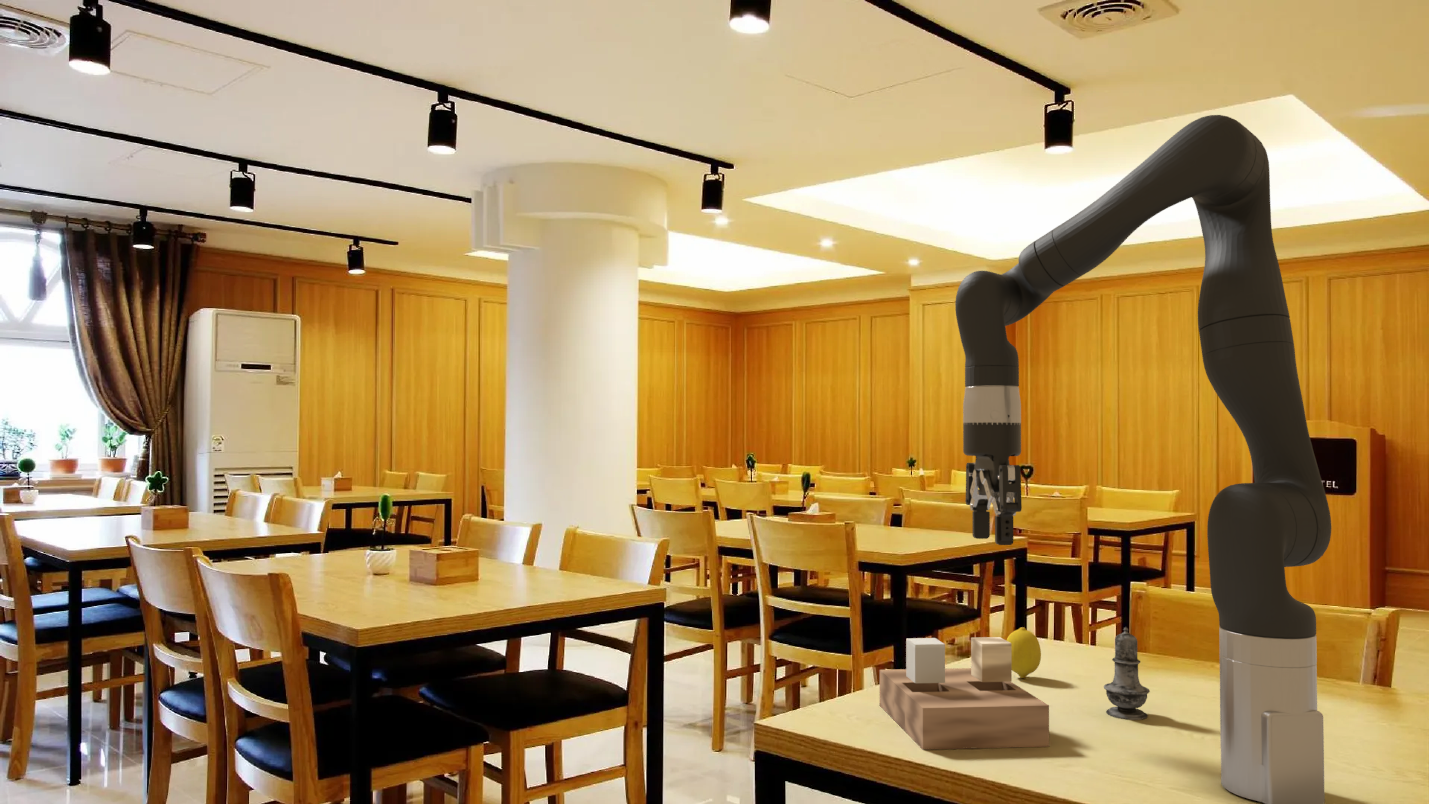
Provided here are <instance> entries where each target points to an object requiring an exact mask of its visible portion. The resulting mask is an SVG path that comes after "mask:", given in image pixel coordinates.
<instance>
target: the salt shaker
mask: <svg viewBox="0 0 1429 804" xmlns="http://www.w3.org/2000/svg"><path fill="white" fill-rule="evenodd" d="M1122 630H1123V632H1122V633H1119V634H1117V635H1116V636H1115V638H1114V651H1115V652H1114V657H1113V658H1112V659H1111V661H1113V662H1114V674H1113V675H1114V676H1113V679H1112V681H1111V682H1110V683H1109V682H1108V683H1106V684H1104V685H1103V689H1104V690H1105V691H1106V693H1105V694H1106V697H1107V699H1108V701H1109V702H1110V703H1111V704H1112V705H1114V706H1112V707H1110V708H1108V709H1106V711H1105V713H1106V714H1107V715H1108V716H1110V717H1113V718H1116V719H1122V720H1131V721H1138V720H1145V719H1147V718H1148V717H1149V716H1148V714H1147V713H1146V712H1145V711H1144V710H1141V709H1139V708H1141V707H1142V706H1143V705H1144V704H1146V701H1147V699H1148V694H1150V692H1151V691H1150V689H1149V688H1148V687H1146V686H1143V685H1142V683H1141V682H1140V678H1139V664H1140V663H1141V660H1140V659H1138V640H1137V639H1138V638H1137V637H1136V636H1135V635H1133V634H1131V633H1130V632H1129V628H1128V627H1127V626H1125V627H1123V629H1122Z"/></svg>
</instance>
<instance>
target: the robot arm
mask: <svg viewBox="0 0 1429 804" xmlns="http://www.w3.org/2000/svg"><path fill="white" fill-rule="evenodd" d="M1270 178H1271V177H1270V161H1269V155H1268V153H1267V150H1266V148H1265V146H1264V144H1263V143H1262V141H1261V140H1260V139H1259V138H1258V137H1257V136H1256V135H1255V134H1254V133H1253V132H1251V131H1250V130H1249V129H1248V128H1247V127H1246V126H1244V125H1243V124H1242V123H1241V122H1239V120H1236V119H1234V118H1232V117H1230V116H1226V115H1222V114H1210V115H1205V116H1202V117H1199V118H1197V119H1195V120H1193V121H1191V122H1189V123H1188V124H1186V125H1185V126H1184V127H1182V128H1181V129H1180V130H1178V131H1177V132H1176V133H1175V134H1174V135H1172V136H1171V137H1170V138H1169V139H1167V140H1166V141H1165V142H1164V143H1163V144H1162V145H1161V146H1160V147H1158V148H1157V149H1156V150H1155V151H1153V153H1151V154H1150V155H1149V156H1148V157H1147V158H1146V159H1145V160H1144V161H1142V163H1140V164H1139V165H1138V166H1136V167H1135V168H1134V169H1132V170H1131V172H1129V173H1128V174H1127V175H1126V176H1124V177H1123V178H1122V179H1121V180H1120V181H1118V183H1116V184H1115V185H1114V186H1113V187H1111V188H1110V189H1109V190H1108V191H1106V192H1105V193H1104V194H1102V195H1101V196H1100V197H1098V198H1097V199H1096V200H1094V201H1093V202H1092V203H1090V204H1089V205H1088V206H1086V207H1085V208H1084V209H1082V210H1081V211H1079V212H1078V213H1076V214H1075V215H1073V216H1072V217H1070V218H1068V219H1067V220H1065V221H1064V222H1063V223H1061V224H1060V225H1057V226H1056V227H1055V228H1053V229H1052V230H1050V231H1048V232H1046V233H1045V234H1043V235H1042V236H1041V237H1039V238H1037V239H1036V240H1034V241H1033V242H1030V244H1028V245H1027V246H1026V247H1024V248H1023V249H1022V250H1021V251H1020V254H1019V256H1018V262H1017V264H1016V265H1014V266H1013V267H1012V268H1011V269H1009V270H1007V271H1006V272H1004V273H1002V274H1000V273H996V272H992V271H989V270H976V271H974V272H971V273H969V274H967V275H966V276H965V277H964V278H963V280H961V283H960V284H959V286H958V289H957V291H956V297H955V303H954V306H955V308H954V309H955V316H956V317H955V318H956V323H957V327H958V331H959V337H960V341H961V345H962V349H963V352H964V356H965V359H964V360H965V363H964V367H965V368H964V387H965V388H964V397H963V403H962V410H963V411H962V414H963V415H962V416H963V417H962V430H963V431H962V432H963V434H962V437H963V438H962V439H963V440H962V441H963V442H962V443H963V444H962V445H963V446H962V449H963V451H962V452H963V454H964V455H966V456H968V457H970V456H971V457H975V462H966V463H965V467H966V469H965V499H964V502H965V504H966V506H969V508H970V511H972V537H973V538H974V539H977V540H978V539H979V540H981V539H982V540H983V539H984V540H985V539H989V538H990V535H991V530H990V529H991V527H990V526H991V525H990V524H991V521H990V520H991V517H990V516H991V515H990V514H991V513H990V511H989V510H990V508H991V505H992V506H993V511H994V514H995V516H994V543H995V544H996V545H999V546H1012V545H1013V543H1014V517H1015V516H1016V515H1017V513H1020V512H1022V509H1023V508H1022V507H1023V506H1022V505H1023V503H1022V477H1021V475H1022V472H1021V469H1022V468H1021V465H1019V464H1010V457H1018V456H1020V455H1022V454H1021V453H1022V403H1021V402H1022V401H1021V396H1020V368H1019V366H1020V364H1019V363H1020V362H1019V353H1018V350H1017V347H1015V345H1013V344H1012V343H1011V342H1010V341H1009V339H1008V334H1007V330H1006V327H1007V326H1010V325H1012V324H1013V325H1014V324H1015V323H1017V322H1019V321H1021V320H1022V319H1024V318H1026V317H1027V316H1028V315H1030V314H1031V313H1032V312H1033V311H1035V310H1036V309H1037V308H1038V307H1039V306H1041V304H1043V303H1044V302H1045V301H1046V300H1047V299H1048V298H1049V297H1051V295H1053V294H1054V293H1055V292H1056V291H1057V290H1060V289H1062V288H1064V287H1065V286H1067V285H1069V284H1070V283H1072V282H1074V281H1075V280H1077V279H1079V278H1081V277H1082V276H1084V275H1085V274H1088V273H1089V272H1091V271H1092V270H1094V269H1096V267H1098V266H1099V265H1101V264H1102V263H1103V262H1105V261H1106V260H1107V259H1108V258H1109V257H1110V256H1111V255H1113V254H1114V253H1115V252H1116V251H1117V249H1119V247H1120V246H1121V245H1123V243H1125V241H1126V240H1127V239H1128V238H1129V237H1130V236H1131V235H1132V234H1133V233H1134V232H1135V231H1137V230H1138V228H1140V227H1141V226H1142V225H1143V224H1144V223H1146V222H1147V221H1149V220H1151V219H1152V218H1153V217H1155V216H1156V215H1158V214H1159V213H1161V212H1163V211H1164V210H1167V209H1168V208H1171V207H1173V206H1175V205H1176V204H1179V203H1181V202H1184V201H1186V200H1189V199H1191V198H1192V200H1193V202H1194V205H1195V207H1196V212H1197V215H1198V219H1199V222H1200V223H1199V224H1200V227H1201V229H1200V230H1201V233H1202V237H1203V243H1204V257H1205V258H1204V268H1203V274H1202V279H1201V285H1200V290H1199V296H1198V298H1199V299H1198V302H1197V303H1198V304H1197V327H1198V334H1199V341H1200V348H1201V356H1202V363H1203V367H1204V370H1205V374H1206V377H1207V379H1208V381H1209V383H1210V385H1211V386H1212V389H1213V391H1214V392H1215V393H1216V395H1217V397H1218V398H1219V400H1220V401H1221V403H1222V404H1223V405H1224V408H1225V409H1226V411H1228V413H1229V414H1230V416H1231V417H1232V419H1233V420H1234V422H1235V423H1236V424H1237V426H1238V428H1239V430H1240V432H1241V434H1242V435H1243V438H1244V439H1245V442H1246V445H1247V447H1248V451H1249V452H1248V453H1249V455H1250V459H1251V465H1252V470H1253V477H1254V478H1253V480H1254V482H1242V483H1235V484H1231V485H1228V486H1226V487H1224V488H1223V489H1221V490H1220V491H1219V492H1218V493H1217V494H1216V496H1215V497H1214V499H1213V500H1212V502H1211V505H1210V507H1209V511H1208V516H1207V526H1206V527H1207V528H1206V529H1207V530H1206V531H1207V533H1206V534H1207V537H1206V538H1207V548H1208V549H1207V551H1208V554H1207V555H1208V565H1209V566H1208V567H1209V582H1210V583H1209V584H1210V590H1211V596H1212V600H1213V602H1214V605H1215V607H1216V610H1217V612H1218V622H1219V623H1218V625H1219V629H1218V630H1219V632H1218V633H1219V638H1218V639H1219V709H1220V710H1219V714H1220V715H1219V719H1220V721H1219V725H1220V727H1219V728H1220V729H1219V730H1220V735H1219V736H1220V740H1219V741H1220V777H1221V778H1220V784H1221V786H1222V787H1223V788H1224V789H1225V790H1227V791H1229V792H1230V793H1233V794H1234V795H1237V796H1239V797H1242V798H1246V799H1249V800H1252V801H1257V802H1260V803H1263V804H1325V803H1326V802H1325V749H1324V747H1325V744H1324V743H1325V741H1324V740H1325V739H1324V738H1325V735H1324V734H1325V733H1324V728H1325V727H1324V715H1323V713H1322V712H1321V711H1320V710H1318V679H1317V678H1318V677H1317V676H1318V673H1317V671H1318V669H1317V667H1318V666H1317V662H1318V659H1317V658H1318V655H1317V653H1318V651H1317V616H1316V612H1315V610H1314V608H1312V606H1310V605H1308V604H1306V603H1305V602H1301V601H1300V600H1298V599H1295V597H1293V596H1292V595H1291V593H1290V592H1289V590H1288V587H1287V580H1286V572H1285V571H1286V570H1285V568H1290V567H1291V568H1292V567H1302V566H1307V565H1311V564H1313V563H1315V562H1317V561H1318V560H1319V559H1321V558H1322V557H1323V556H1324V554H1325V552H1326V551H1327V549H1328V548H1329V545H1330V541H1331V537H1332V519H1331V512H1330V507H1329V503H1328V498H1327V495H1326V490H1325V488H1324V484H1323V480H1322V477H1321V474H1320V469H1319V467H1318V463H1317V459H1316V456H1315V453H1314V449H1313V444H1312V441H1311V437H1310V433H1309V432H1310V431H1309V428H1308V423H1307V417H1306V412H1305V405H1304V402H1303V395H1302V390H1301V385H1300V380H1299V374H1298V373H1299V372H1298V368H1297V360H1296V351H1295V350H1296V349H1295V341H1294V337H1293V335H1294V334H1293V329H1292V324H1291V323H1292V322H1291V319H1290V318H1291V316H1290V312H1289V308H1288V302H1287V299H1286V292H1285V288H1284V283H1283V278H1282V272H1281V268H1280V265H1279V260H1278V256H1277V252H1276V249H1275V244H1274V238H1273V230H1272V212H1271V210H1272V209H1271V188H1270V187H1271V185H1270V184H1271V183H1270Z"/></svg>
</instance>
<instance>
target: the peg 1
mask: <svg viewBox="0 0 1429 804" xmlns="http://www.w3.org/2000/svg"><path fill="white" fill-rule="evenodd" d="M905 644H906V645H905V647H906V648H905V652H906V653H905V654H906V655H905V656H906V657H905V662H906V663H905V667H906V668H905V669H906V676H907V677H908V678H909V679H911V680H912V681H913V682H914V683H945V669H946V644H945V642H942V641H940V640H939V639H938V638H936V637H924V638H923V637H917V638H916V637H913V638H906V641H905Z"/></svg>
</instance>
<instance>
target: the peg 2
mask: <svg viewBox="0 0 1429 804" xmlns="http://www.w3.org/2000/svg"><path fill="white" fill-rule="evenodd" d="M1006 640H1007V639H1004V638H1002V637H1001V636H990V637H987V636H983V637H982V636H981V637H970V643H971V644H970V647H971V648H970V657H971V658H970V660H971V661H970V663H971V664H970V665H971V666H970V668H971V675H972V676H974V677H975V678H977V679H978V680H980V681H981V682H1012V683H1013V681H1012V672H1013V671H1012V661H1011V643H1010V642H1008V641H1006Z"/></svg>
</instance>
